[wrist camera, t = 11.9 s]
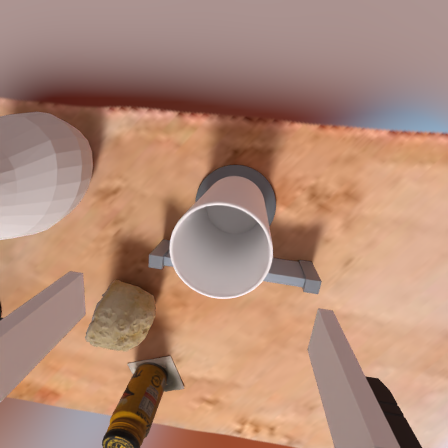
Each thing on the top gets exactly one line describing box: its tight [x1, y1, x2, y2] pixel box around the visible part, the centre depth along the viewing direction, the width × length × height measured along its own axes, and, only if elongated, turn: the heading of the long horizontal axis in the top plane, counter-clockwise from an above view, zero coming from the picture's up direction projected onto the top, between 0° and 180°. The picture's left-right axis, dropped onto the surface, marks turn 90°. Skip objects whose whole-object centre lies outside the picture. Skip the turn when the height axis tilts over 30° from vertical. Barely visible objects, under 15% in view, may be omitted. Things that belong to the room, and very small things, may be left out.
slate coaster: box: [196, 165, 276, 226], centre depth 36 cm, size 11×11×1 cm
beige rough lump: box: [85, 279, 156, 351], centre depth 38 cm, size 10×10×10 cm
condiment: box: [102, 356, 184, 448], centre depth 41 cm, size 7×8×12 cm
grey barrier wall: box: [149, 239, 322, 294], centre depth 35 cm, size 22×2×6 cm, turn 83°
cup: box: [170, 176, 273, 299], centre depth 28 cm, size 8×8×16 cm
